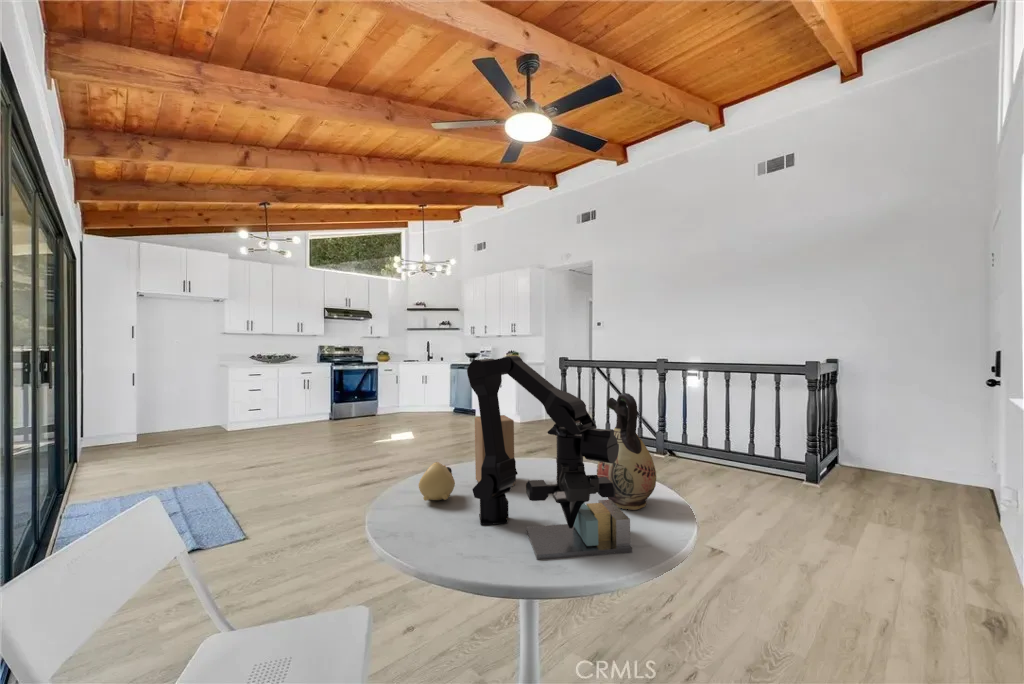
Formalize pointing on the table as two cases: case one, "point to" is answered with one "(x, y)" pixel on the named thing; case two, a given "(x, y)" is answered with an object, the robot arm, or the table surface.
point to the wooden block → (479, 442)
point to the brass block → (601, 520)
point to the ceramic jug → (629, 459)
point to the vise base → (570, 544)
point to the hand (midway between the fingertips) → (570, 527)
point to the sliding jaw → (587, 526)
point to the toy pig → (437, 482)
